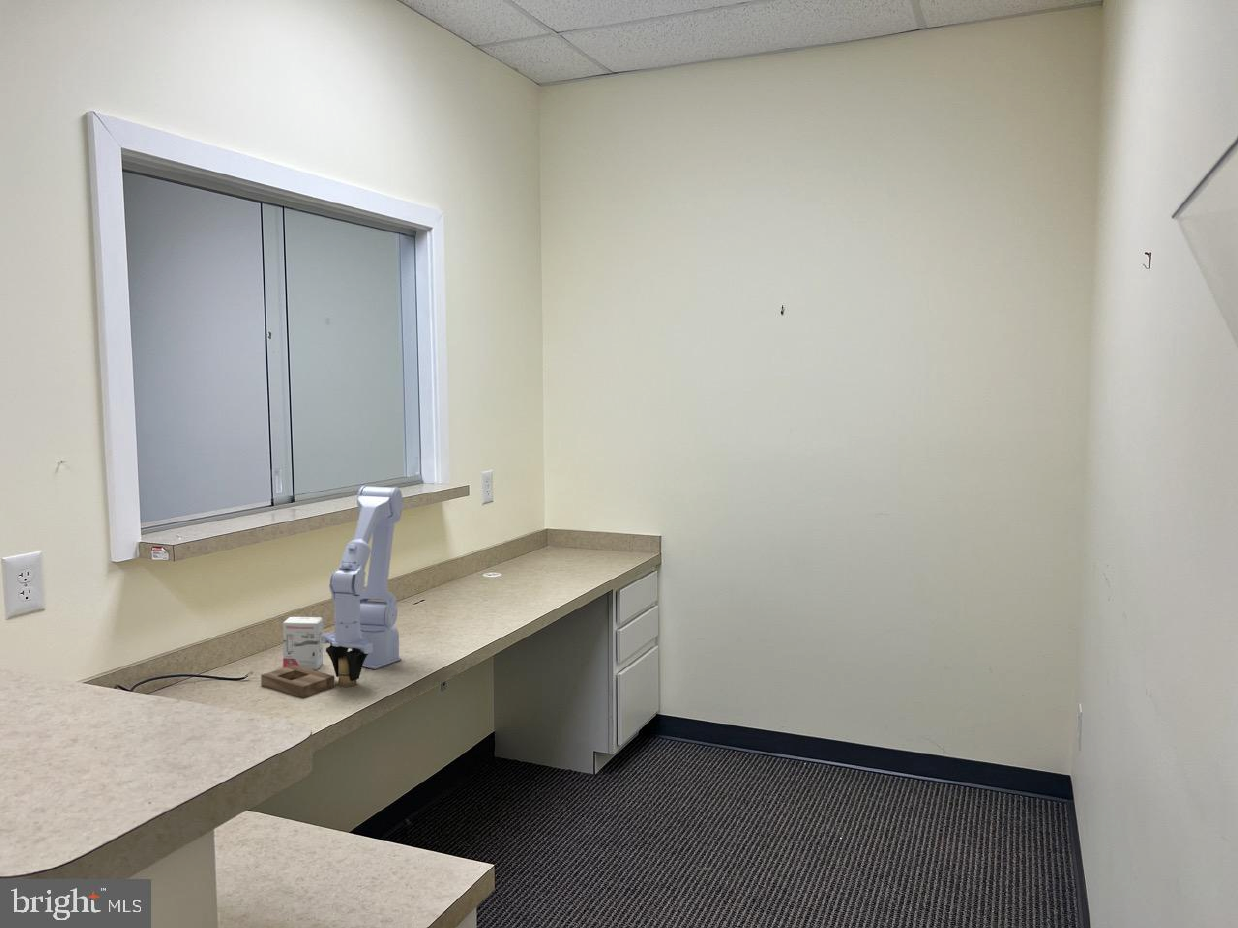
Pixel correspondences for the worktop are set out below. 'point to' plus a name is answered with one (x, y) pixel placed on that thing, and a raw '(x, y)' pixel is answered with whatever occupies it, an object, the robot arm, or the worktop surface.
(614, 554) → the worktop surface
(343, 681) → the peg
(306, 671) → the board
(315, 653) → the ink box
